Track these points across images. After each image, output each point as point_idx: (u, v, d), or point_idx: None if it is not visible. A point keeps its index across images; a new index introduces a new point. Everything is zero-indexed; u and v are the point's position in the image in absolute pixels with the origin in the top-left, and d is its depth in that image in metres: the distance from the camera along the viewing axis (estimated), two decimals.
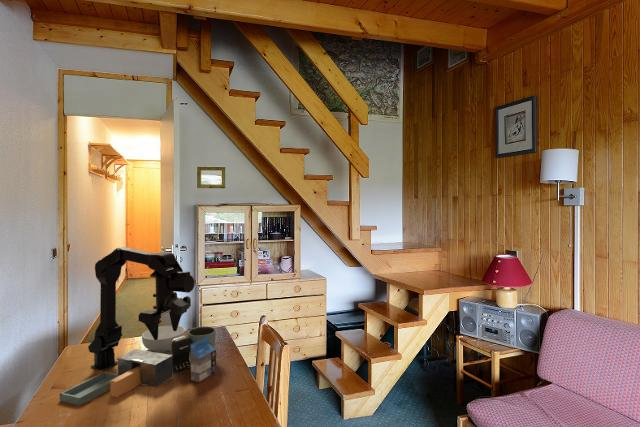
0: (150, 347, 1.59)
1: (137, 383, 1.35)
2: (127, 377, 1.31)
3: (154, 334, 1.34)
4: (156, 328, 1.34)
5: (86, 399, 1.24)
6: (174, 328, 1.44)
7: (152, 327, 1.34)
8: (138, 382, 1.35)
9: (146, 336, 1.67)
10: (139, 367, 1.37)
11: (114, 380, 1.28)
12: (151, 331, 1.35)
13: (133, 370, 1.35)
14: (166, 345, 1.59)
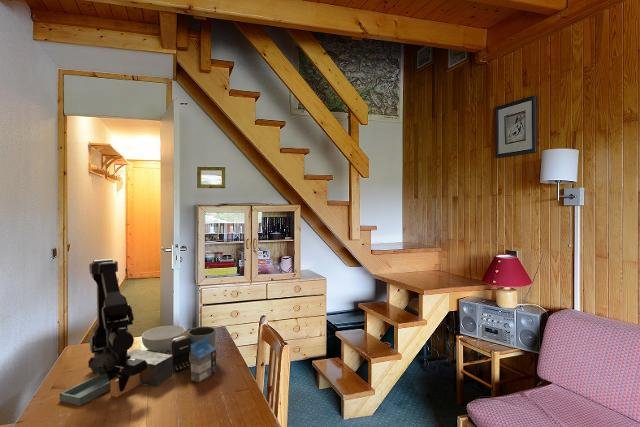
0: (150, 347, 1.59)
1: (137, 382, 1.35)
2: None
3: None
4: (108, 377, 1.28)
5: (86, 399, 1.24)
6: None
7: None
8: (138, 381, 1.35)
9: (146, 336, 1.67)
10: None
11: (114, 379, 1.28)
12: None
13: None
14: (166, 345, 1.59)
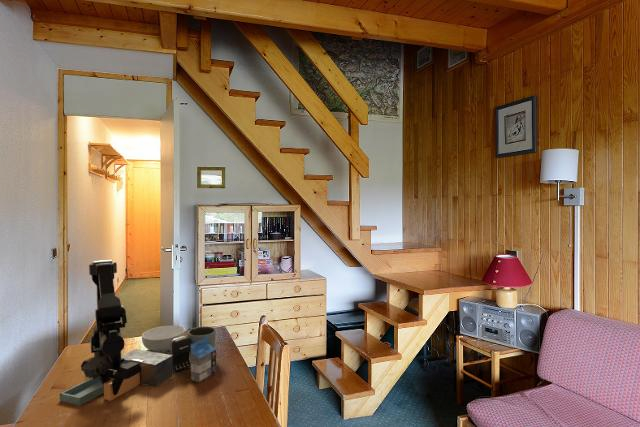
0: (150, 347, 1.59)
1: (131, 386, 1.32)
2: None
3: None
4: (101, 380, 1.26)
5: (86, 399, 1.24)
6: None
7: None
8: (132, 385, 1.33)
9: (146, 336, 1.67)
10: None
11: (108, 383, 1.25)
12: None
13: None
14: (166, 345, 1.59)
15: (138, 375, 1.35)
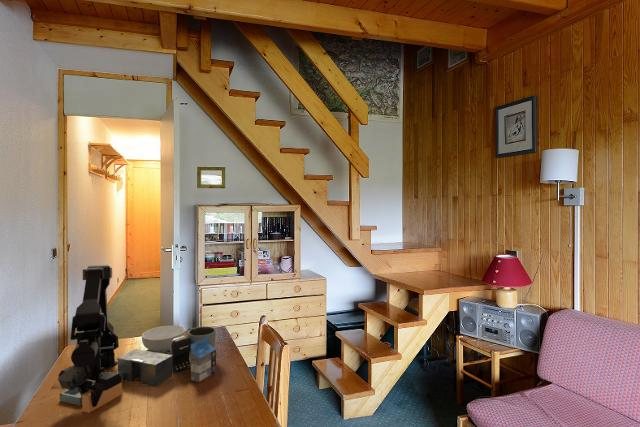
0: (150, 347, 1.59)
1: (112, 396, 1.25)
2: None
3: None
4: (80, 391, 1.19)
5: None
6: None
7: None
8: (114, 395, 1.26)
9: (146, 336, 1.67)
10: None
11: (86, 394, 1.18)
12: None
13: None
14: (166, 345, 1.59)
15: (120, 385, 1.28)
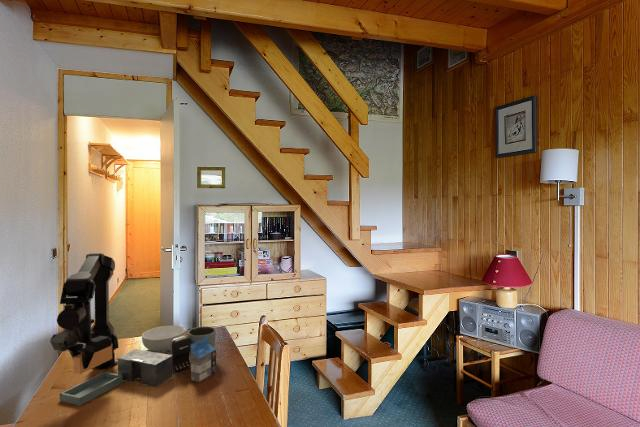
0: (150, 347, 1.59)
1: (103, 360, 1.32)
2: None
3: None
4: (71, 354, 1.25)
5: (86, 399, 1.24)
6: None
7: None
8: (104, 359, 1.32)
9: (146, 336, 1.67)
10: None
11: (77, 357, 1.24)
12: None
13: None
14: (166, 345, 1.59)
15: (110, 350, 1.34)
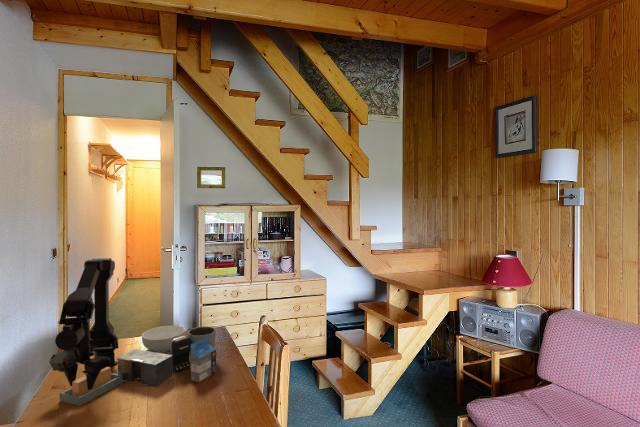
0: (150, 347, 1.59)
1: (101, 384, 1.32)
2: None
3: None
4: (65, 373, 1.27)
5: (86, 399, 1.24)
6: None
7: None
8: (103, 383, 1.33)
9: (146, 336, 1.67)
10: (104, 368, 1.35)
11: (76, 381, 1.25)
12: None
13: None
14: (166, 345, 1.59)
15: (109, 374, 1.35)
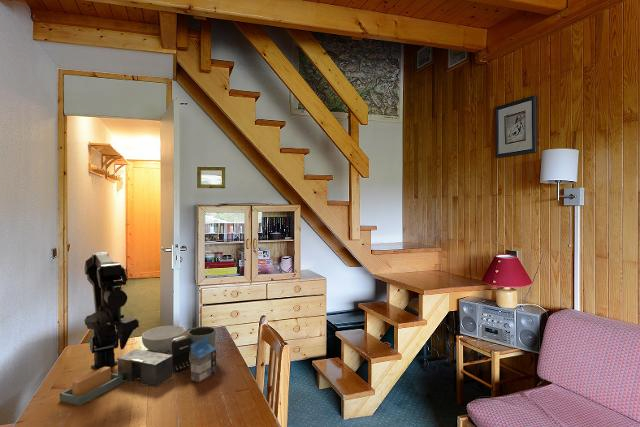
0: (150, 347, 1.59)
1: (101, 384, 1.32)
2: (90, 378, 1.28)
3: None
4: (96, 333, 1.38)
5: (86, 399, 1.24)
6: None
7: None
8: (103, 383, 1.33)
9: (146, 336, 1.67)
10: (104, 368, 1.35)
11: (76, 381, 1.25)
12: None
13: (98, 371, 1.32)
14: (166, 345, 1.59)
15: (109, 374, 1.35)
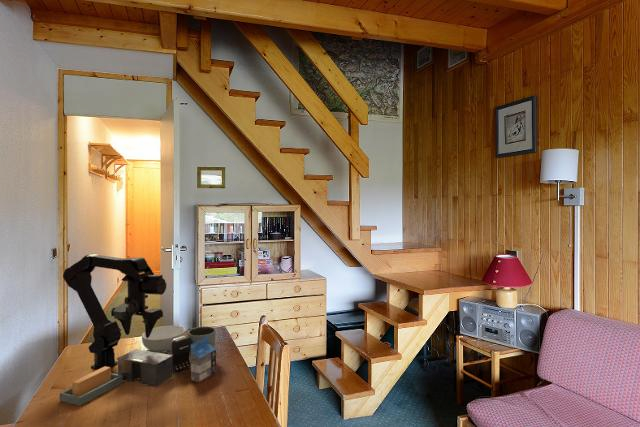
0: (150, 347, 1.59)
1: (101, 384, 1.32)
2: (90, 378, 1.28)
3: None
4: (122, 323, 1.47)
5: (86, 399, 1.24)
6: None
7: None
8: (103, 383, 1.33)
9: None
10: (104, 368, 1.35)
11: (76, 381, 1.25)
12: None
13: (98, 371, 1.32)
14: (166, 345, 1.59)
15: (109, 374, 1.35)
